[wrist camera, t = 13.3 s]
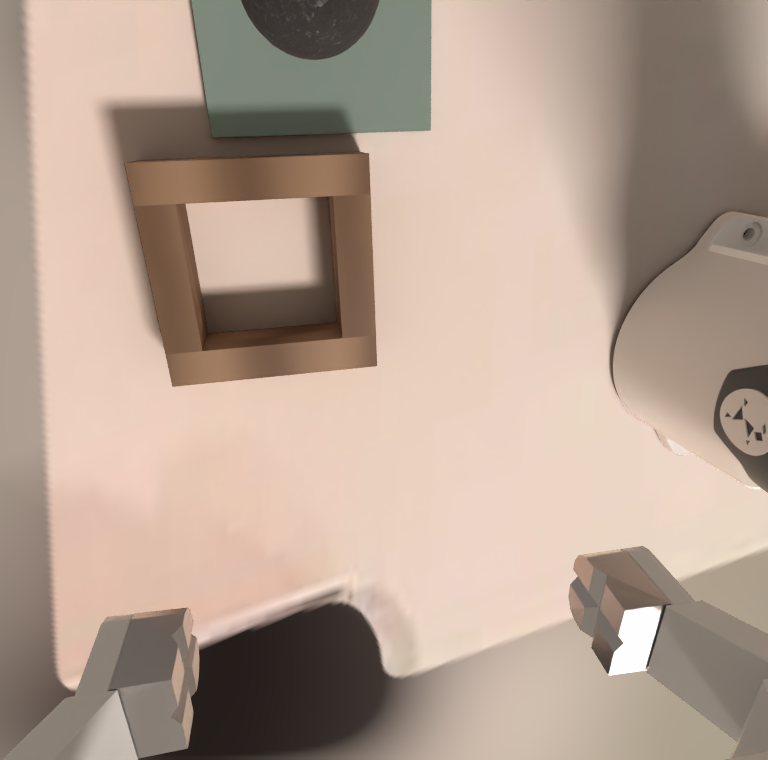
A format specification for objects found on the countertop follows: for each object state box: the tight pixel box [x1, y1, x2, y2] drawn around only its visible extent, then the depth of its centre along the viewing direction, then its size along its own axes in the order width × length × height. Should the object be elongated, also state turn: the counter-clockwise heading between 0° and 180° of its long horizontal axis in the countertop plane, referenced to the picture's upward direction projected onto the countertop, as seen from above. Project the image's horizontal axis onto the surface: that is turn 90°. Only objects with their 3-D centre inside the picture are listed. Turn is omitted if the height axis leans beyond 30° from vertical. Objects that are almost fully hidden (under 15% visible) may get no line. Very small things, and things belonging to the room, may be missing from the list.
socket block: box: [124, 152, 377, 387], centre depth 31 cm, size 12×12×3 cm
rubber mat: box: [191, 0, 431, 138], centre depth 28 cm, size 12×10×1 cm
